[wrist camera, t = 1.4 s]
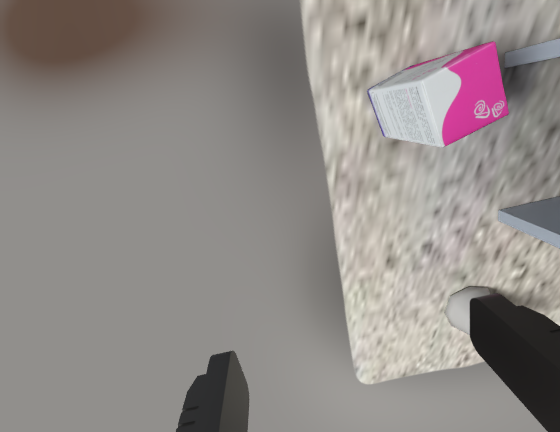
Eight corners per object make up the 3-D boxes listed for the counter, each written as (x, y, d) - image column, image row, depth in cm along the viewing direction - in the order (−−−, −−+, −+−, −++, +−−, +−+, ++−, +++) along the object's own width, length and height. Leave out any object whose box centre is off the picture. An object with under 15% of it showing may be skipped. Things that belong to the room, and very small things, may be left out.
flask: (492, 279, 40) (560, 329, 31) (491, 319, 43) (554, 377, 33) (442, 291, 41) (495, 344, 31) (444, 330, 43) (494, 390, 34)
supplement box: (383, 139, 33) (440, 150, 22) (365, 90, 31) (418, 76, 20) (430, 115, 32) (513, 114, 21) (414, 63, 30) (496, 34, 20)
